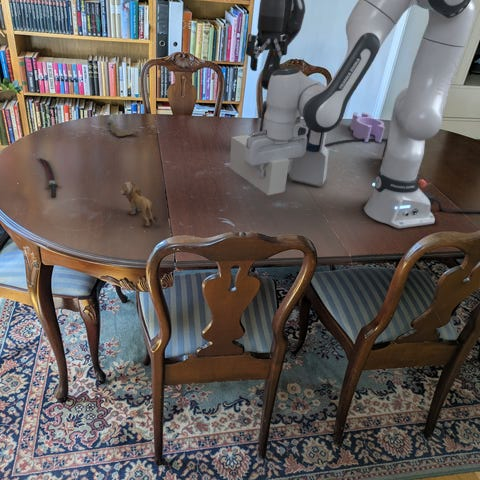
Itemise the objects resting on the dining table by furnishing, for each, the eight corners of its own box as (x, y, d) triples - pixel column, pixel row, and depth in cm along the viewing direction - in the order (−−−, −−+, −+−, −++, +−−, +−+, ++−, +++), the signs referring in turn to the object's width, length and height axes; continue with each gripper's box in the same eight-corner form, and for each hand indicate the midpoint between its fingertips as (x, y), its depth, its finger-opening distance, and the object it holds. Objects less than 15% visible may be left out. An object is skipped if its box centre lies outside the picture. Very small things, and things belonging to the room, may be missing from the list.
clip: (343, 126, 223) (346, 112, 219) (367, 127, 225) (371, 113, 221) (360, 142, 206) (364, 127, 202) (386, 142, 209) (390, 127, 205)
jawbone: (124, 141, 183) (123, 136, 182) (92, 127, 194) (92, 122, 192) (142, 134, 189) (141, 130, 188) (110, 121, 199) (109, 116, 198)
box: (229, 167, 150) (231, 136, 145) (244, 164, 153) (247, 134, 148) (268, 195, 136) (272, 162, 130) (284, 191, 139) (289, 159, 134)
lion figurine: (118, 210, 138) (116, 182, 133) (132, 204, 141) (131, 177, 137) (151, 229, 130) (150, 201, 126) (165, 223, 134) (165, 195, 129)
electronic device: (325, 180, 169) (342, 97, 152) (321, 188, 163) (339, 103, 146) (292, 173, 172) (306, 91, 155) (287, 181, 165) (301, 96, 149)
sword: (61, 197, 141) (61, 193, 140) (50, 198, 139) (50, 194, 139) (49, 160, 164) (48, 156, 163) (39, 160, 163) (39, 157, 162)
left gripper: (259, 15, 133) (253, 74, 141) (297, 16, 140) (289, 71, 149) (244, 11, 138) (239, 68, 146) (282, 11, 145) (275, 66, 154)
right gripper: (254, 137, 122) (249, 184, 130) (313, 128, 133) (305, 172, 140) (241, 129, 126) (237, 175, 134) (299, 121, 137) (292, 164, 144)
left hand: (264, 69), depth 147 cm, fingers open, 8 cm apart
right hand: (272, 174), depth 137 cm, fingers closed on box, 6 cm apart
